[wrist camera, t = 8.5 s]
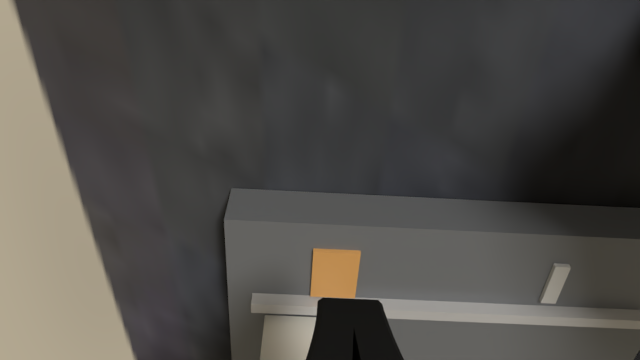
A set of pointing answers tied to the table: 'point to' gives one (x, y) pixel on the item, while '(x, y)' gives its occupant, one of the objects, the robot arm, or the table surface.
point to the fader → (286, 337)
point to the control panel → (440, 272)
